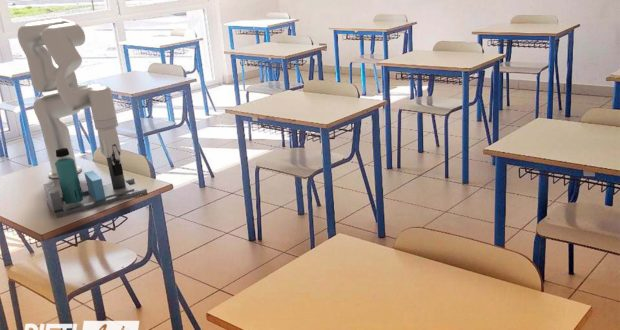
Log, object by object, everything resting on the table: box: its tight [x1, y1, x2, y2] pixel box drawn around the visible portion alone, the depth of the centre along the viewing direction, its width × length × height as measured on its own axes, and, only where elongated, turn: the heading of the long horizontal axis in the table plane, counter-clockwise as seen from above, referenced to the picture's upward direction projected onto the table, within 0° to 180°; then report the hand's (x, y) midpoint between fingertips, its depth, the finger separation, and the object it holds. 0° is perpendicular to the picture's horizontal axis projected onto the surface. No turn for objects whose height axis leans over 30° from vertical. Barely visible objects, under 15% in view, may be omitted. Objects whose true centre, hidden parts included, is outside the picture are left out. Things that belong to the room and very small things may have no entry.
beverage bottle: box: [55, 148, 84, 205], centre depth 213 cm, size 6×7×20 cm
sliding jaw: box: [84, 154, 135, 202], centre depth 220 cm, size 12×13×14 cm
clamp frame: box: [43, 177, 148, 219], centre depth 219 cm, size 17×30×8 cm, turn 122°
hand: (116, 172), depth 221 cm, fingers closed on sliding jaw, 4 cm apart
